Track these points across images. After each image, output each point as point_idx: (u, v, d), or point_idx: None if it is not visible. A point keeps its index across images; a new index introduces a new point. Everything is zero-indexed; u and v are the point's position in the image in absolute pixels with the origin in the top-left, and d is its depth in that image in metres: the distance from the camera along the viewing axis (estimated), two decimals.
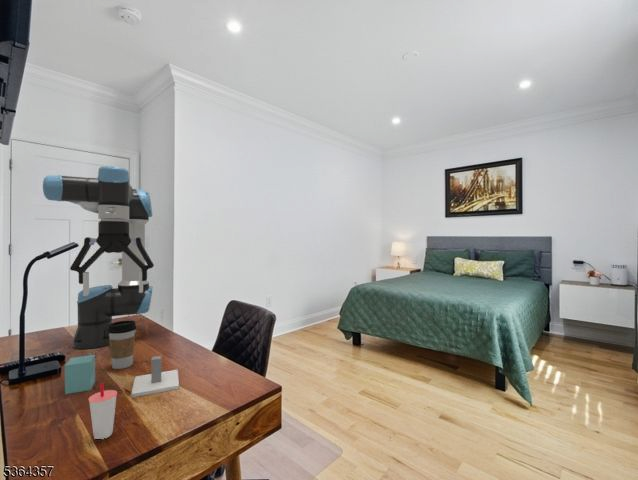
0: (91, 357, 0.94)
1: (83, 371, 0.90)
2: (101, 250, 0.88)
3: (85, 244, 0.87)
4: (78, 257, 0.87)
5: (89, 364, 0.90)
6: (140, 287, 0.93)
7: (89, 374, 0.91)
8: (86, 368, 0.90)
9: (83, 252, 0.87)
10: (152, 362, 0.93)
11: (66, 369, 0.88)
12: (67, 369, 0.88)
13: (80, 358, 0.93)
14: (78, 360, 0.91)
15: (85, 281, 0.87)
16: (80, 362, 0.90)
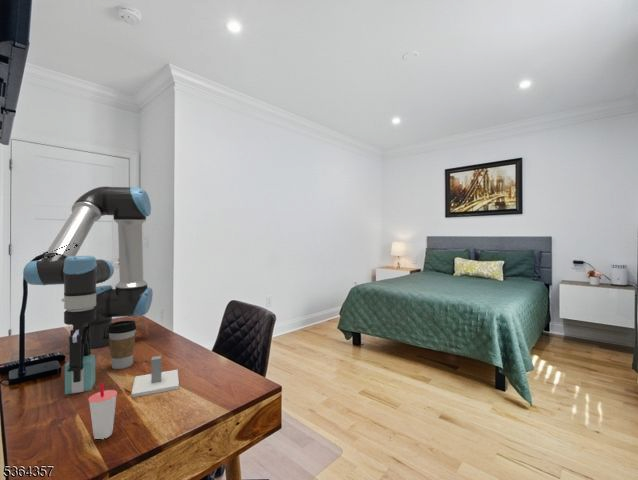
0: (91, 357, 0.94)
1: None
2: None
3: None
4: None
5: (89, 364, 0.90)
6: None
7: (89, 374, 0.90)
8: (86, 368, 0.90)
9: None
10: (152, 362, 0.93)
11: (66, 369, 0.88)
12: (67, 369, 0.88)
13: None
14: None
15: None
16: None
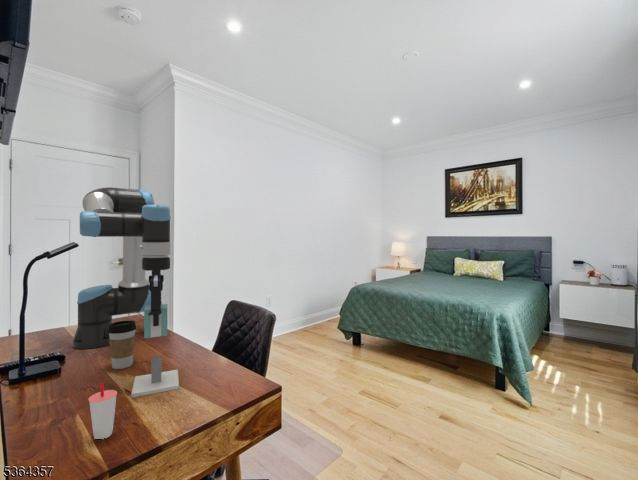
0: (165, 305, 0.96)
1: None
2: None
3: None
4: None
5: (166, 310, 0.93)
6: None
7: (166, 320, 0.93)
8: (163, 314, 0.92)
9: None
10: (152, 362, 0.93)
11: (145, 313, 0.90)
12: (146, 313, 0.90)
13: None
14: None
15: None
16: None
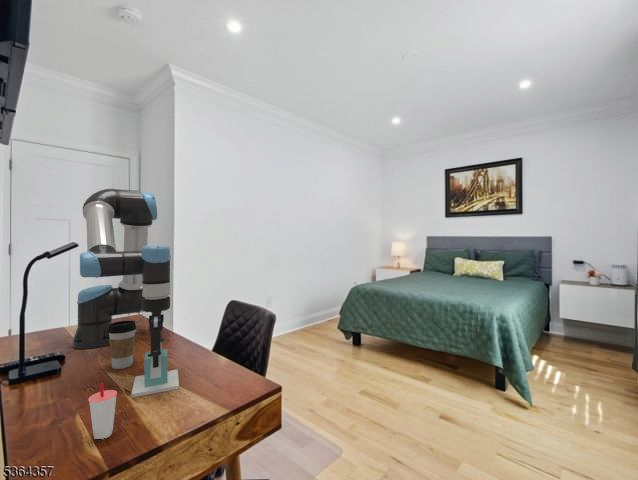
0: (165, 351, 0.96)
1: (161, 365, 0.92)
2: None
3: None
4: None
5: (166, 358, 0.93)
6: (150, 372, 0.89)
7: (166, 368, 0.93)
8: (163, 362, 0.92)
9: None
10: None
11: (145, 363, 0.90)
12: (146, 363, 0.91)
13: None
14: None
15: None
16: None
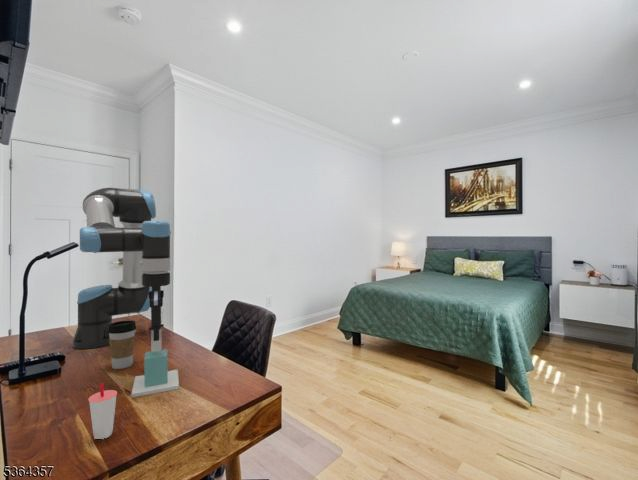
0: (165, 351, 0.96)
1: (161, 365, 0.92)
2: None
3: None
4: None
5: (166, 358, 0.93)
6: (151, 346, 0.93)
7: (166, 368, 0.93)
8: (163, 362, 0.92)
9: None
10: None
11: (145, 363, 0.90)
12: (146, 363, 0.91)
13: (155, 352, 0.95)
14: (154, 354, 0.94)
15: None
16: (157, 356, 0.93)
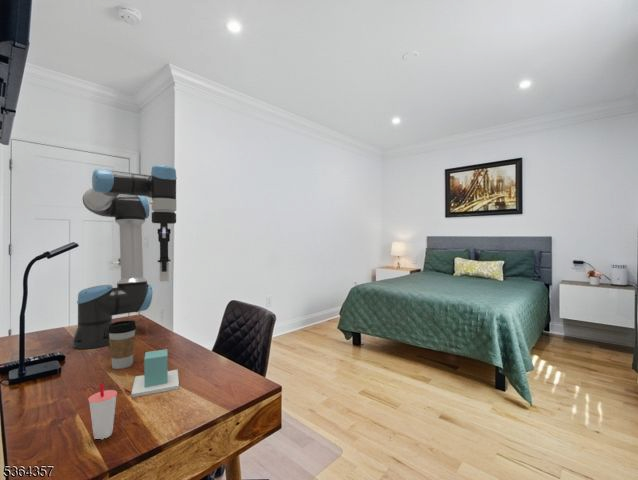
0: (165, 351, 0.96)
1: (161, 365, 0.92)
2: None
3: None
4: None
5: (166, 358, 0.93)
6: None
7: (166, 368, 0.93)
8: (163, 362, 0.92)
9: None
10: None
11: (145, 363, 0.90)
12: (146, 363, 0.91)
13: (155, 352, 0.95)
14: (154, 354, 0.94)
15: None
16: (157, 356, 0.93)
